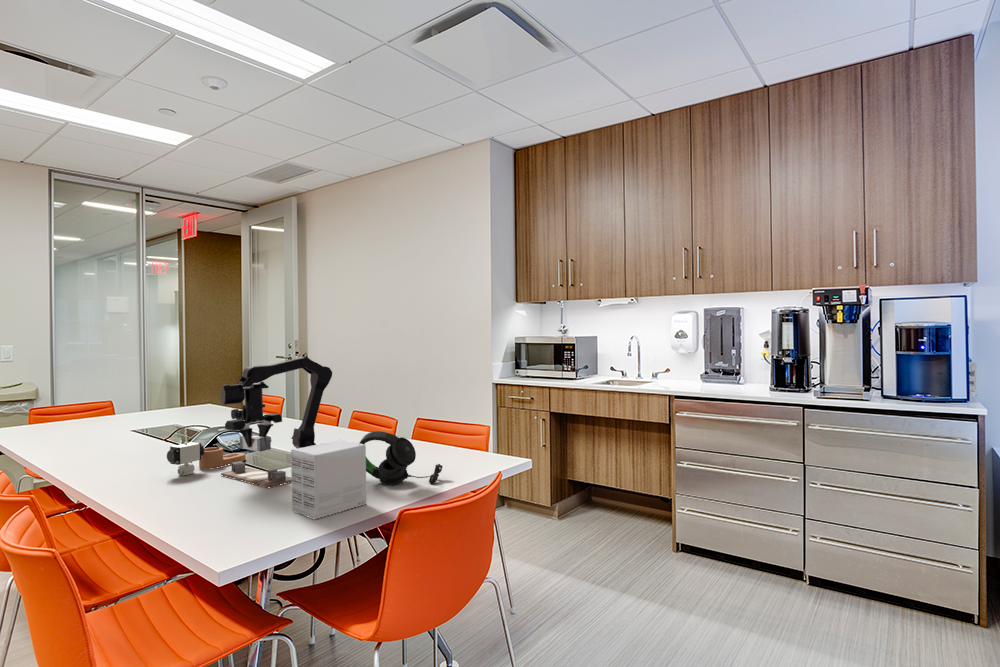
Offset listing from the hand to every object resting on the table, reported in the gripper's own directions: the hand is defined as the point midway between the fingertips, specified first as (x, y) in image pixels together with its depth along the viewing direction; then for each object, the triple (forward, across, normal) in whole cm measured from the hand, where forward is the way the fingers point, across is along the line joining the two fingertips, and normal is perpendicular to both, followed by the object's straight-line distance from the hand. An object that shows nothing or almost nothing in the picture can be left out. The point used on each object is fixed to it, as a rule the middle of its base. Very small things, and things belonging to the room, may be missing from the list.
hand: (255, 445), depth 193 cm
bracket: (+12, -7, -32) cm, 35 cm away
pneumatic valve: (+12, +10, -29) cm, 33 cm away
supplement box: (+12, +8, +49) cm, 51 cm away
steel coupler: (+1, 0, 0) cm, 1 cm away
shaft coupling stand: (+12, 0, 0) cm, 12 cm away
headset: (+12, -22, +48) cm, 54 cm away
